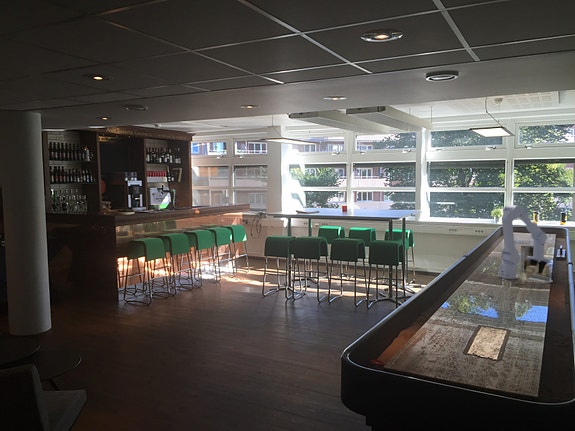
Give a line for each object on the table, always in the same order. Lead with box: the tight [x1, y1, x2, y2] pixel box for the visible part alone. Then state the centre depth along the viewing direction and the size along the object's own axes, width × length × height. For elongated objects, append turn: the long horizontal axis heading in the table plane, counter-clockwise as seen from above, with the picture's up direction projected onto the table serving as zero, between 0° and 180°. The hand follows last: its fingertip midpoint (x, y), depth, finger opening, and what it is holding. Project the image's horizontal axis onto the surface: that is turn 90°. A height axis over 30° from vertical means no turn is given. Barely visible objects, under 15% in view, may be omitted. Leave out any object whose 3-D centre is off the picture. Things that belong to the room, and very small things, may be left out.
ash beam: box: [525, 264, 550, 278], centre depth 280 cm, size 16×4×6 cm, turn 116°
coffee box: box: [519, 245, 539, 272], centre depth 299 cm, size 9×6×16 cm
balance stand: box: [527, 274, 553, 284], centre depth 267 cm, size 8×10×3 cm
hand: (537, 272), depth 280 cm, fingers closed on ash beam, 3 cm apart
